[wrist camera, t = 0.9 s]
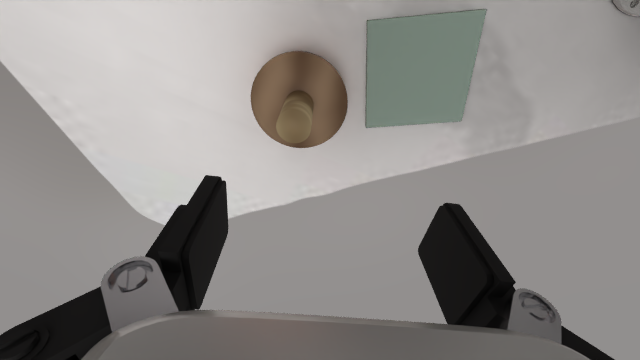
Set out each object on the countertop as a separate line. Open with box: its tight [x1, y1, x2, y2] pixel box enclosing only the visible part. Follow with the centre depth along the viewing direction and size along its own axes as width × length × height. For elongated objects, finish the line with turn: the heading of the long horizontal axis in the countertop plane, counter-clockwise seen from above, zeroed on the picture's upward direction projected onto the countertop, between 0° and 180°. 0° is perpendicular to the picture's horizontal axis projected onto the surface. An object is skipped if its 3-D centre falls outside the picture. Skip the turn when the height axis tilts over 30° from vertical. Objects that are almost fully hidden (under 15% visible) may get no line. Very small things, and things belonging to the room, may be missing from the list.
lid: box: [251, 51, 348, 148], centre depth 31 cm, size 12×12×8 cm
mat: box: [366, 9, 487, 128], centre depth 36 cm, size 14×14×1 cm
